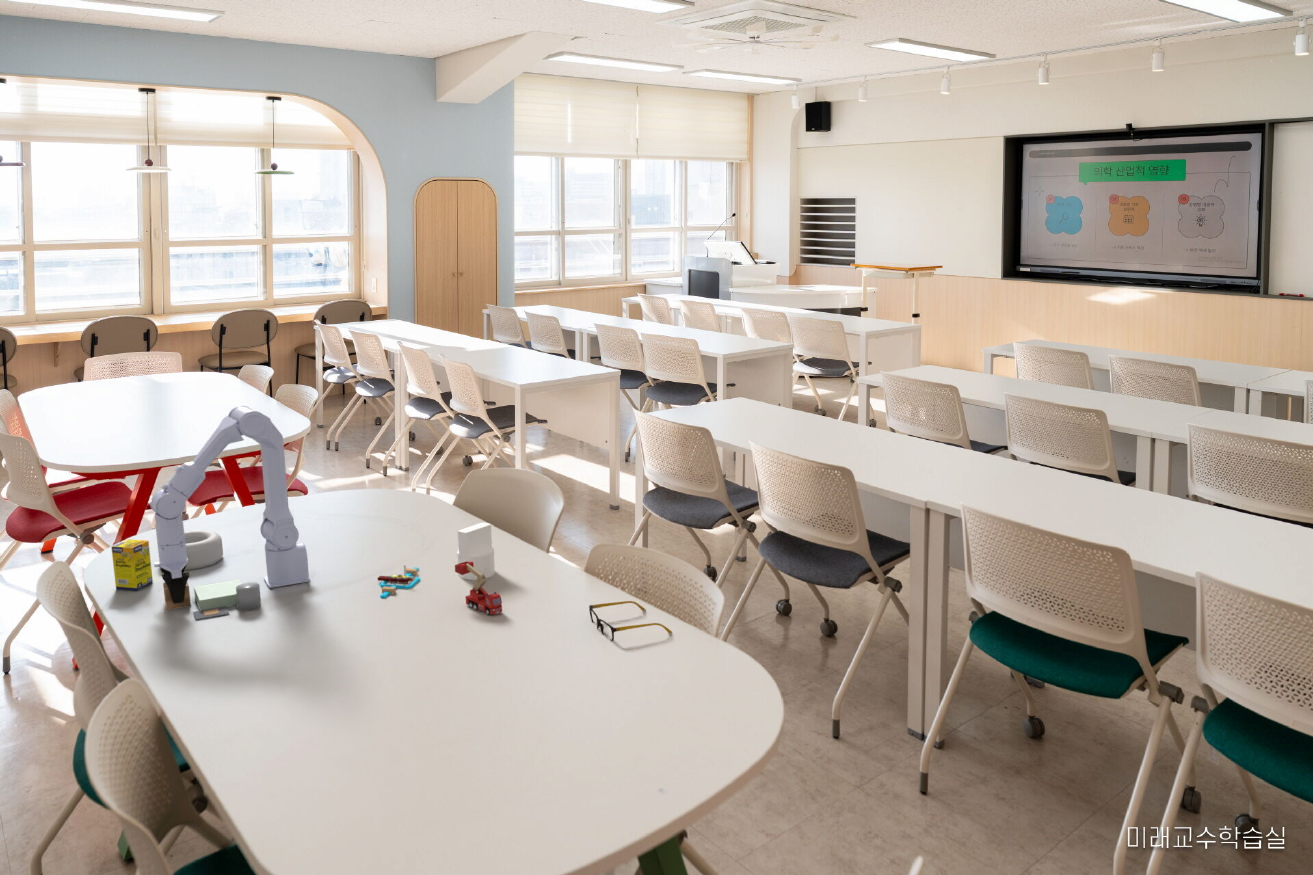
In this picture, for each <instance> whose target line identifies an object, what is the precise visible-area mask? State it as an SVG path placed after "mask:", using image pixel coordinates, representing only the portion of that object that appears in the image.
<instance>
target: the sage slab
mask: <svg viewBox="0 0 1313 875" xmlns="http://www.w3.org/2000/svg"><path fill="white" fill-rule="evenodd" d="M240 584H242V582H241V580H240V579H234V580H228V581H221V582H216V583H210V584H204V585H198V586H193V592H194V598H195V601H196V603H197V606H198V608H199V611H201V610H207V609H212V608H218V607H224V606H227V607H231V606H237V595H236V587H237V586H238V585H240Z"/></svg>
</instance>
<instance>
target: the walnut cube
mask: <svg viewBox="0 0 1313 875" xmlns="http://www.w3.org/2000/svg"><path fill="white" fill-rule="evenodd" d="M162 586H163V595H164V596H163V597H164V603H165V604H164V605H165V608H166V610H167V611H169V610H175V609H181V608H188V607H192V604H191V603H192V602H191V595H190V584H189V582H188V581H187V583H186V587H185V597H184V602H181V603H176V604H174V603H173V601H172V598H171V594H170V591H169V588H168V586H167V584H166V583H165V582H162Z"/></svg>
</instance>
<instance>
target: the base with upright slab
mask: <svg viewBox="0 0 1313 875" xmlns="http://www.w3.org/2000/svg"><path fill="white" fill-rule="evenodd" d="M457 542H458V549H457V552H456V556H457V558H456V559H457V564H460V563H463V562H473V563H474V567H473V568H475V569H476V570H477V571H479V572H480V573H481V574H484V575H485V577H486V579H488V578H491V577H493V576H494V575H495V572H496V570H495V549H494V548H493V546H492V544H493V543H492V542H493V541H492V524H491V523H488V522H483V521H482V522H480V523H479V522H478V523H476V524H474V525H471V526H468V527H464V528H462V529H459V530H457ZM457 576H458V577H459V578H460V579H463V580H470V581H471V580H472V581H476V579H477V576H475V575H474V574H473V573H471V572H470V573H467V574H464V575H461V574H459V573H457Z"/></svg>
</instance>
